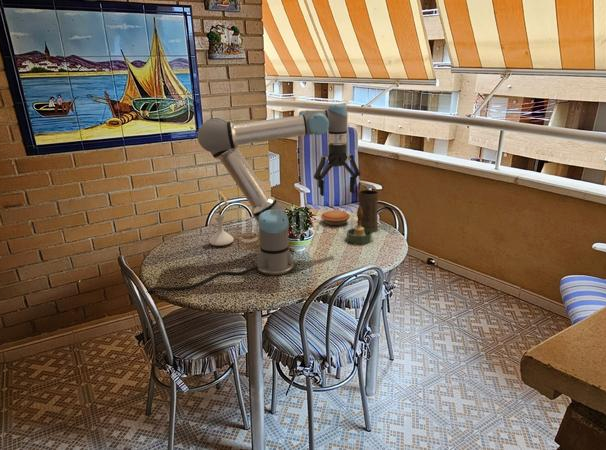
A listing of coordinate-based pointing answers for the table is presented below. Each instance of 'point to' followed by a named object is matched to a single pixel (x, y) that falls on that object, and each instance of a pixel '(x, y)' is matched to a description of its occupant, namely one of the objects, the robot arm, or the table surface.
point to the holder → (359, 237)
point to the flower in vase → (221, 228)
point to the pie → (335, 217)
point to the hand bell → (359, 224)
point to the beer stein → (368, 209)
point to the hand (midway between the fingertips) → (337, 193)
